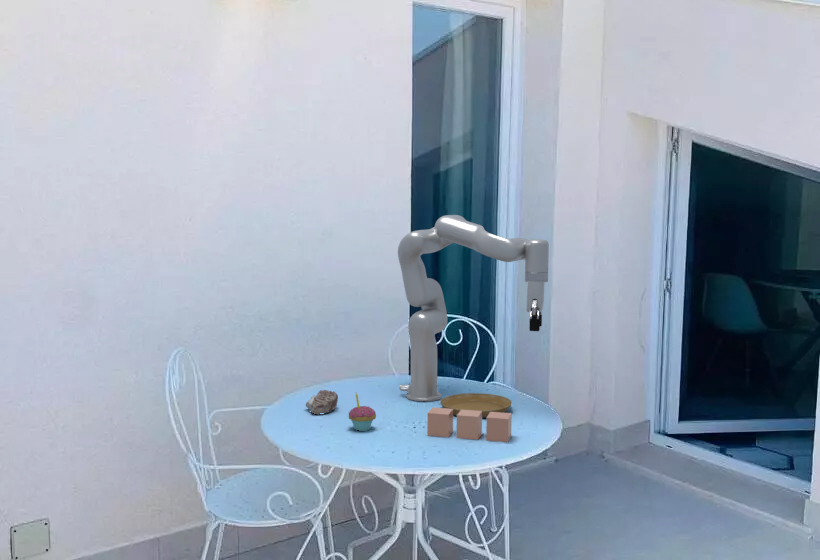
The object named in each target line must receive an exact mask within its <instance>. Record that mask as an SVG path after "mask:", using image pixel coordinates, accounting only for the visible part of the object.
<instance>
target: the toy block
mask: <svg viewBox="0 0 820 560" xmlns="http://www.w3.org/2000/svg"><path fill="white" fill-rule="evenodd" d="M482 434H483V418H482V411H474V410H460V412H459V413H458V414H457V415H456V439H464V440H465V439H466V440H477V441H478V440H479V438H480V437H481V436H482Z"/></svg>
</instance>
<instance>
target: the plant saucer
mask: <svg viewBox="0 0 820 560" xmlns="http://www.w3.org/2000/svg"><path fill="white" fill-rule="evenodd" d="M439 403H440V405H441V408H447V409H453V414H454V415H453V416H457V414H458V413H459V412H460V410H474V411H482V419H484V418H486V419H487V416H488V414H489V413H490V412H501V413H506V412H507V411H508V410H509V409H510V407H511V406H512V404H513V403H512V400H511V399H510V398H508V397H506V396H502V395H500V394H499V395H498V394H492V393H482V392H481V393H478V392H475V393H474V392H473V393H472V392H469V393H456V394H452V395H448V396H445V397H443V398H440V401H439Z"/></svg>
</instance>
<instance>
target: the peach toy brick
mask: <svg viewBox="0 0 820 560" xmlns="http://www.w3.org/2000/svg"><path fill="white" fill-rule="evenodd" d="M426 422H427V428H426V429H427V430H426V431H427V432H426V434H427V436H428V437H429V436H430V437H440V438H449V437H450V436H451V434H452V433H454V415H453V409H447V408H443V407H434V406H433V407H432V408H430V410H429V411H428V412H427V421H426Z"/></svg>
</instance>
